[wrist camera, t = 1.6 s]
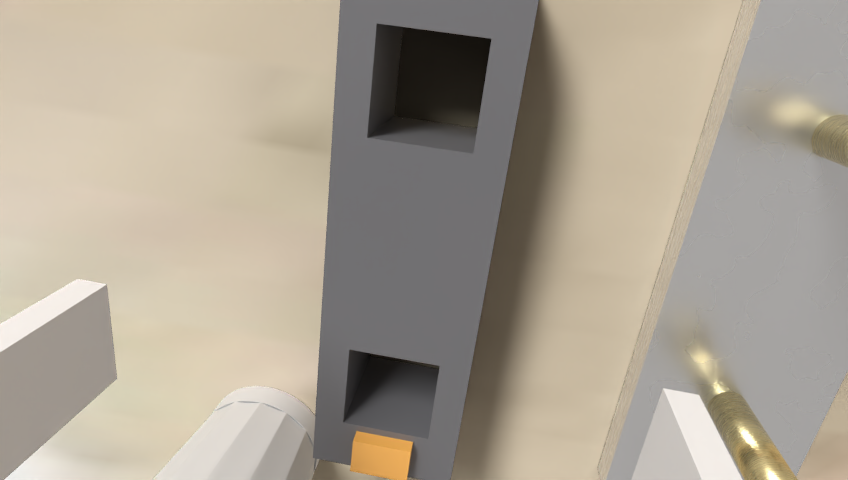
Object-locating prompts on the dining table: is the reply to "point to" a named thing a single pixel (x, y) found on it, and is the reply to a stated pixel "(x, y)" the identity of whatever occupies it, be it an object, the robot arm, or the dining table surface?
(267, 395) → the cup
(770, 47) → the grey plate brass knobs
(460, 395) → the grey rectangular block
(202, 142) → the dining table surface
